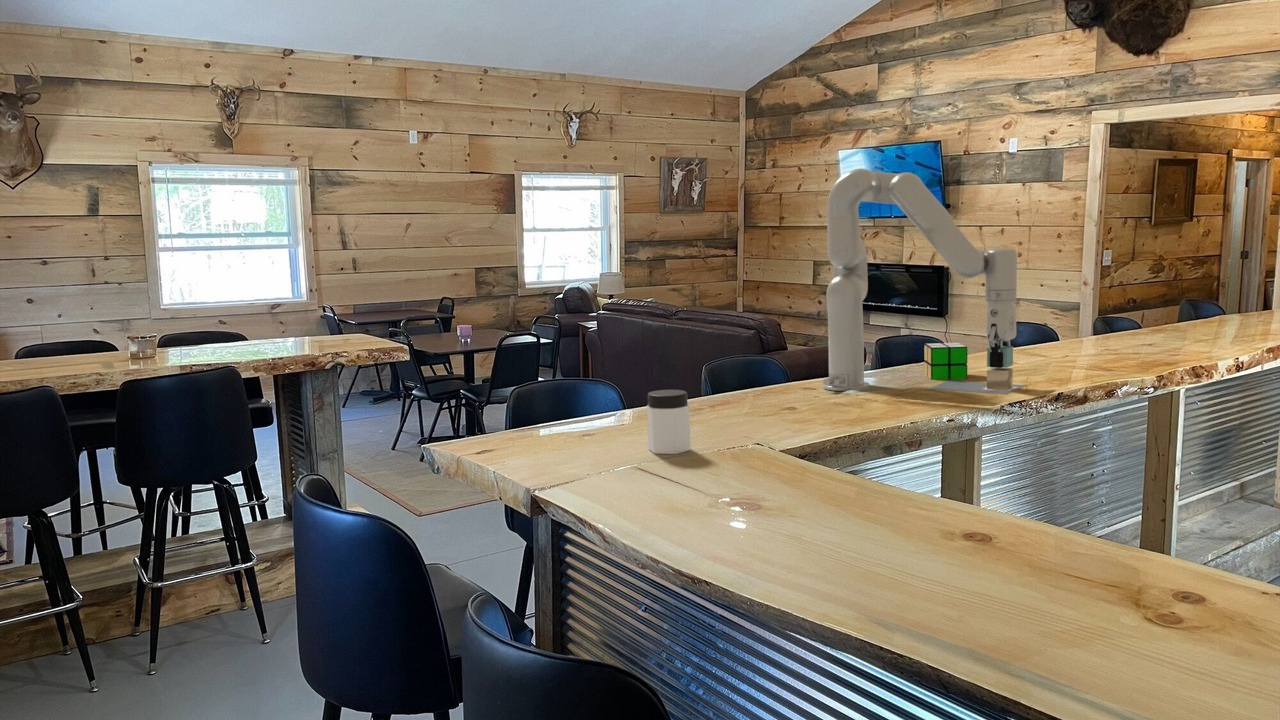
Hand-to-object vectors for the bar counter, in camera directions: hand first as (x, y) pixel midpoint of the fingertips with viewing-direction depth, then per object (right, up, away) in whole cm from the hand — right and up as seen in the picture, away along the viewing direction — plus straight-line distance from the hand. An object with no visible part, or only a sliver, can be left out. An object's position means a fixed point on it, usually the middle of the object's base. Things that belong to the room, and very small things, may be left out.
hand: (999, 365), depth 242 cm
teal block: (0, 0, 0) cm, 0 cm away
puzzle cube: (-6, -4, +24) cm, 25 cm away
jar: (-88, -17, -51) cm, 103 cm away
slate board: (-4, -7, +5) cm, 9 cm away
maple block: (0, -6, +1) cm, 6 cm away
